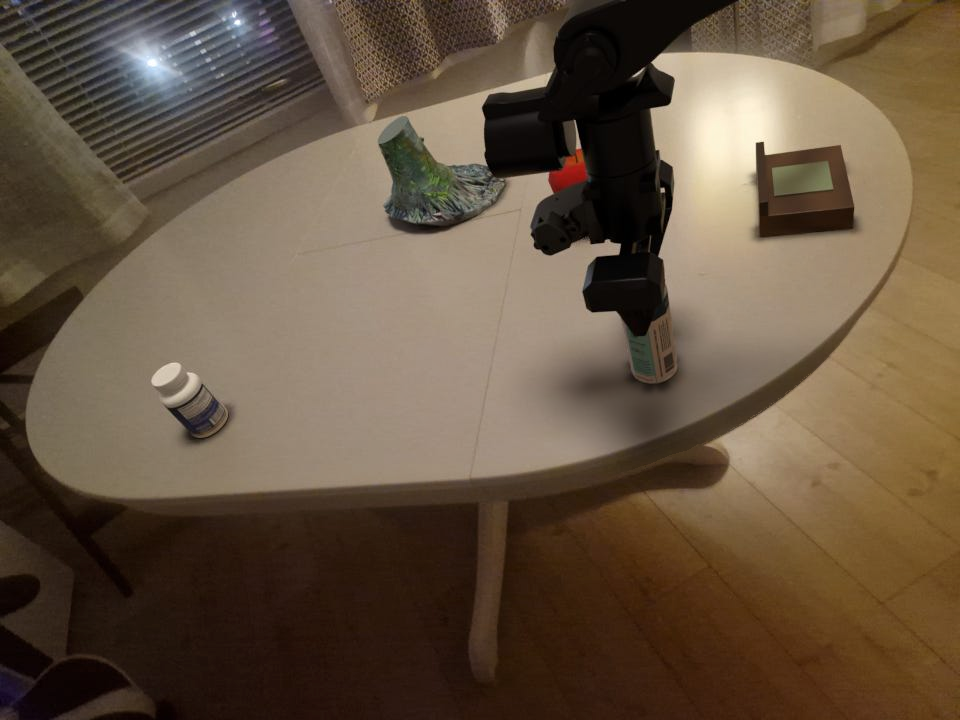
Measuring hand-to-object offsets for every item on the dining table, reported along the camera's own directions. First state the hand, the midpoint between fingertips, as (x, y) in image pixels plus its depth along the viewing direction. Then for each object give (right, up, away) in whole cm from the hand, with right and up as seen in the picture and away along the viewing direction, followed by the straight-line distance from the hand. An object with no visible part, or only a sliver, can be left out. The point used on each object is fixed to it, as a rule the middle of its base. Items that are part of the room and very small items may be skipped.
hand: (644, 302), depth 63 cm
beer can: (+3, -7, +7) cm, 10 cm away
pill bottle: (-52, -14, +23) cm, 58 cm away
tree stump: (-21, +21, +47) cm, 55 cm away
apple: (0, +14, +30) cm, 33 cm away
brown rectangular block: (+25, +15, +19) cm, 34 cm away
